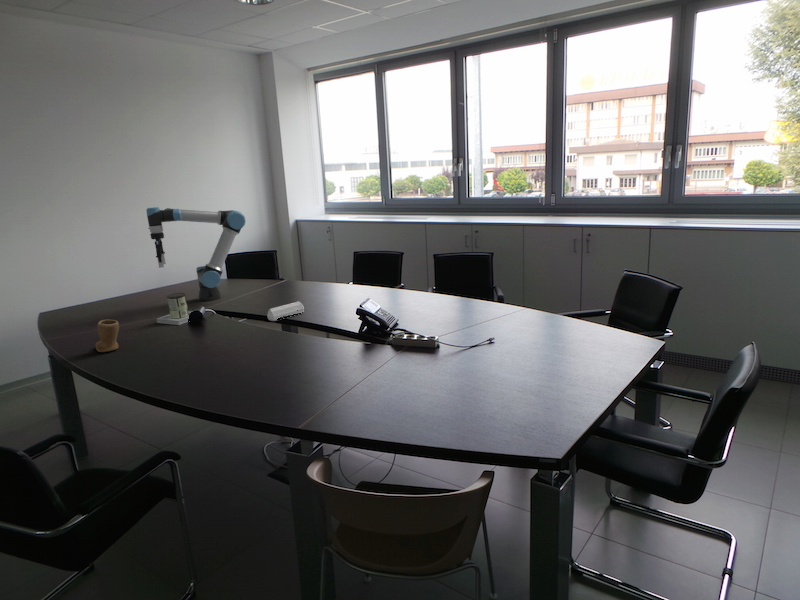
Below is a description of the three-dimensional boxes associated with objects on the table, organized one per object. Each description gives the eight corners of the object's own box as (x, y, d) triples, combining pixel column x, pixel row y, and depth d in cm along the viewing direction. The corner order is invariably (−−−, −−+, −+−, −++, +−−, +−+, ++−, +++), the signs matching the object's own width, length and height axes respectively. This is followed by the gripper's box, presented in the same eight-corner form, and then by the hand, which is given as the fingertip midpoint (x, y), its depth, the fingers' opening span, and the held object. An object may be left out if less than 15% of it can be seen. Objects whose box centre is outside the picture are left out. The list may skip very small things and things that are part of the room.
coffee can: (176, 315, 320) (172, 293, 316) (192, 315, 319) (188, 292, 315) (167, 320, 310) (163, 297, 306) (183, 319, 309) (180, 296, 305)
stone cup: (124, 350, 263) (118, 321, 259) (97, 355, 257) (90, 326, 253) (121, 342, 276) (116, 315, 272) (96, 347, 270) (90, 319, 266)
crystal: (272, 316, 294) (308, 307, 310) (266, 308, 298) (301, 299, 314) (270, 326, 298) (305, 316, 314) (264, 318, 302) (298, 309, 318)
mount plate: (181, 314, 326) (180, 310, 325) (202, 316, 318) (202, 312, 317) (157, 322, 310) (156, 318, 309) (179, 325, 302) (178, 320, 302)
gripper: (152, 231, 339) (157, 263, 344) (148, 234, 316) (154, 269, 321) (164, 230, 341) (170, 262, 346) (161, 233, 318) (167, 268, 323)
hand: (162, 265), depth 334 cm, fingers open, 13 cm apart
